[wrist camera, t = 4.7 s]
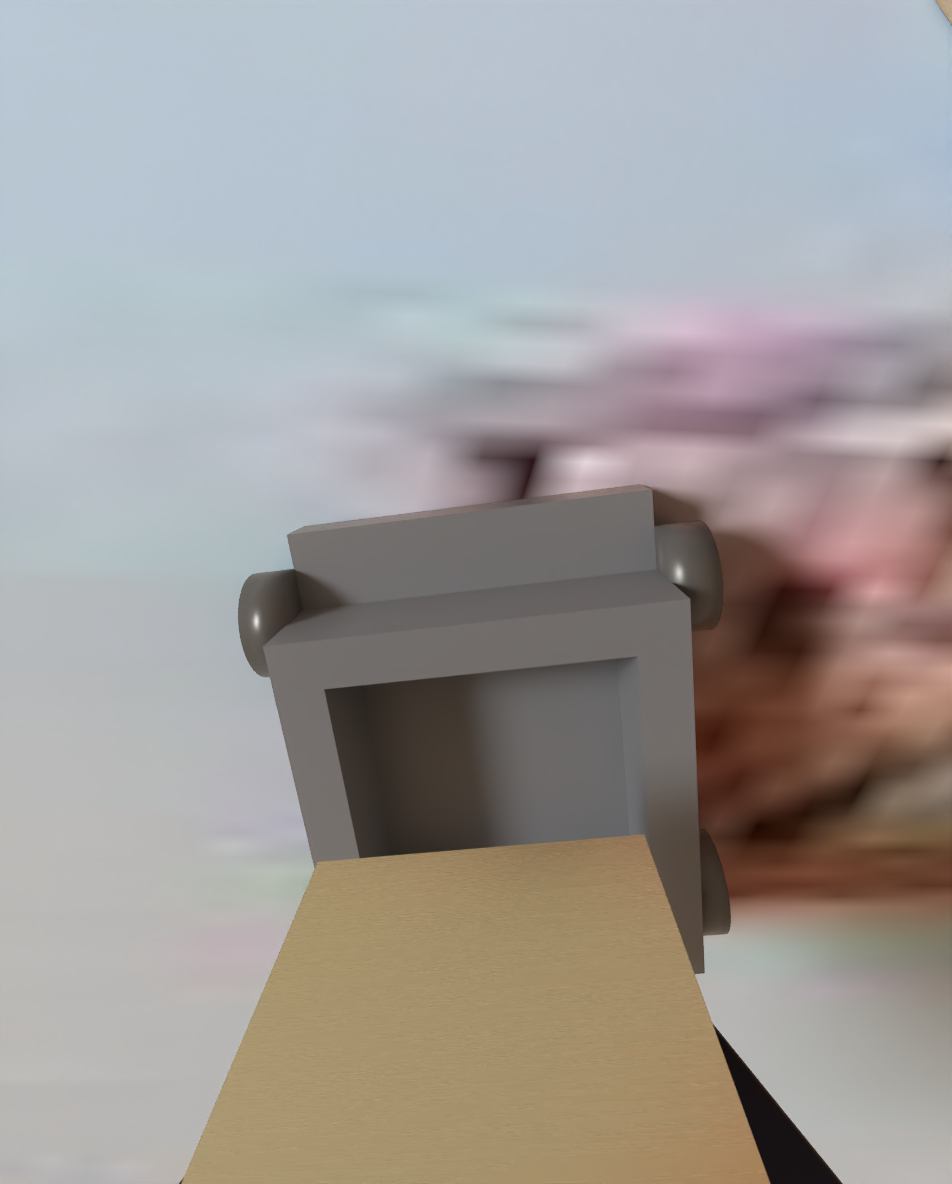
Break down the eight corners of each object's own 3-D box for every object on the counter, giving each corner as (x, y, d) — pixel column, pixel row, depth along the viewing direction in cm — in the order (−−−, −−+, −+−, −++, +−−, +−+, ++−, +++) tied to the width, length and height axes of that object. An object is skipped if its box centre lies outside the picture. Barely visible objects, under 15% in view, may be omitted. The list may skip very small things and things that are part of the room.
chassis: (700, 908, 17) (752, 1032, 13) (353, 934, 17) (316, 1059, 14) (683, 478, 14) (745, 495, 10) (263, 531, 14) (189, 563, 11)
